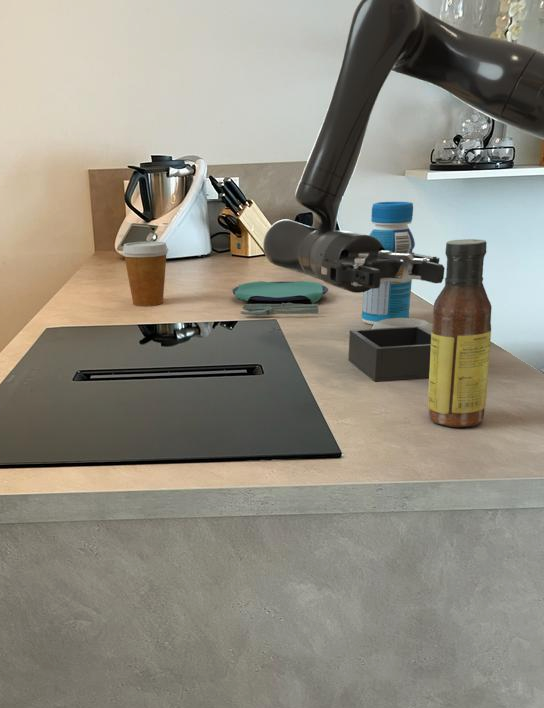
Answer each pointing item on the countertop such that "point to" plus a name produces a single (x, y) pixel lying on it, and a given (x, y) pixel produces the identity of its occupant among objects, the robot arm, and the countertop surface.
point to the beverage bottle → (397, 239)
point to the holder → (391, 352)
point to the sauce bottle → (460, 339)
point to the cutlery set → (280, 296)
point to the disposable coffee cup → (146, 271)
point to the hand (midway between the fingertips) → (409, 277)
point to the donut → (402, 323)
